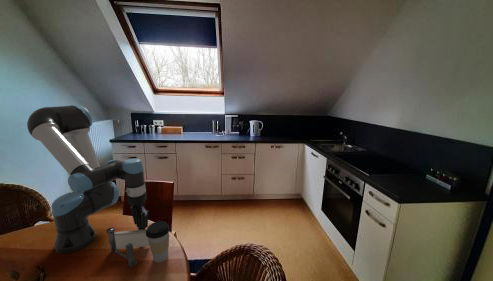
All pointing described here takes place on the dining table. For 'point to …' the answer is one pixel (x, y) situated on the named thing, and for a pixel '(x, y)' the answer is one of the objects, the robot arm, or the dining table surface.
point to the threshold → (123, 255)
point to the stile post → (130, 255)
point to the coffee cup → (158, 240)
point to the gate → (131, 238)
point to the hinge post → (111, 239)
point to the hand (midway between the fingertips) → (142, 239)
